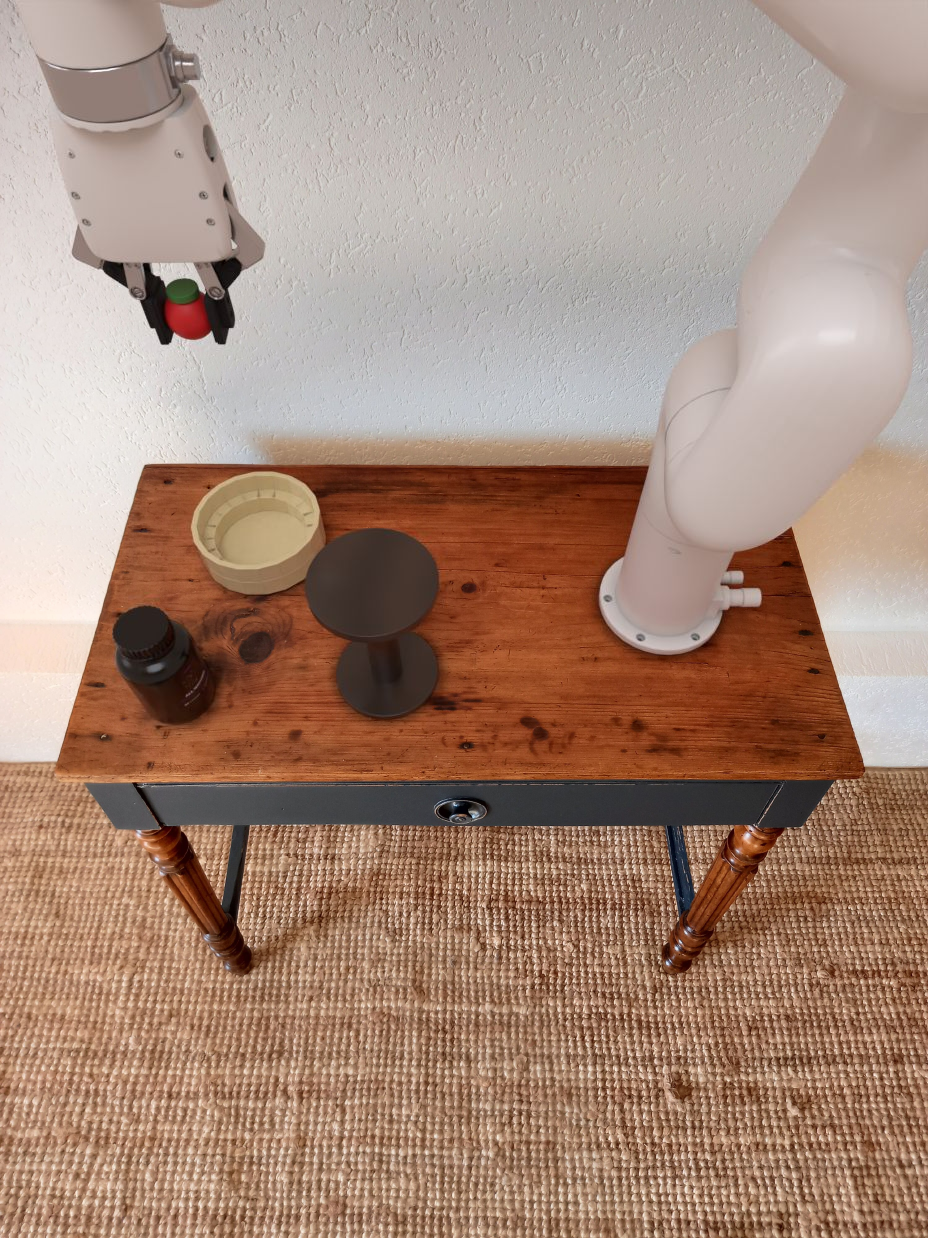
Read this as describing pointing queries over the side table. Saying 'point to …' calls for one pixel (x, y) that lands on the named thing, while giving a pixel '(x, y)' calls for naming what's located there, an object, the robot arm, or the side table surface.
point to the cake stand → (377, 618)
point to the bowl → (258, 532)
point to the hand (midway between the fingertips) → (196, 331)
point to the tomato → (186, 309)
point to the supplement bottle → (162, 665)
